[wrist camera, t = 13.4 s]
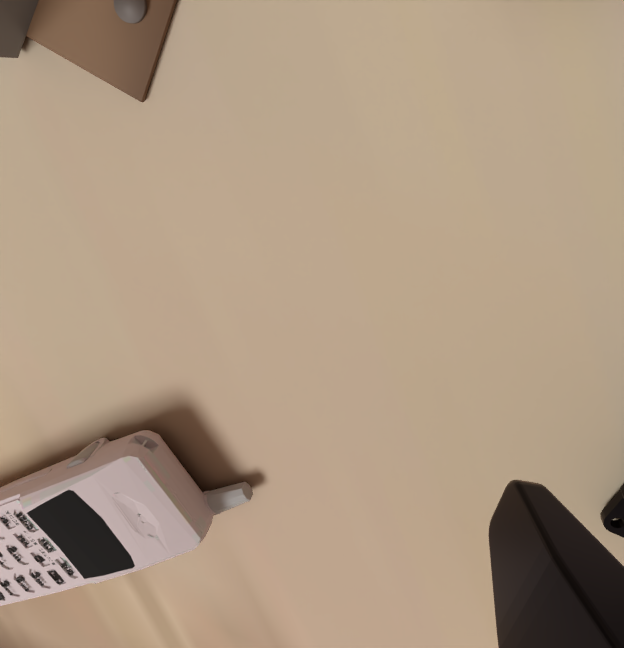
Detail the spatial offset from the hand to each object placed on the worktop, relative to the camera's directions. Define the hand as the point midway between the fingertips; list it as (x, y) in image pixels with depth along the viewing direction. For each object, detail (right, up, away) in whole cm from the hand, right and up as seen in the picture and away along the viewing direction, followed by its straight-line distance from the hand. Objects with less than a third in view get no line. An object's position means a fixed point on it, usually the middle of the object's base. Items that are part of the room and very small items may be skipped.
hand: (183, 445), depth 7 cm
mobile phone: (-12, -8, +21) cm, 26 cm away
